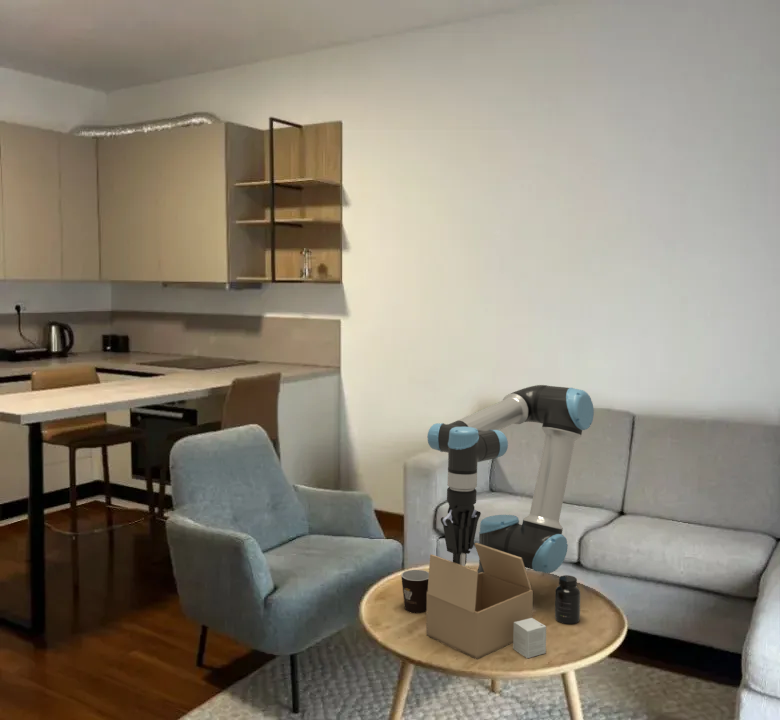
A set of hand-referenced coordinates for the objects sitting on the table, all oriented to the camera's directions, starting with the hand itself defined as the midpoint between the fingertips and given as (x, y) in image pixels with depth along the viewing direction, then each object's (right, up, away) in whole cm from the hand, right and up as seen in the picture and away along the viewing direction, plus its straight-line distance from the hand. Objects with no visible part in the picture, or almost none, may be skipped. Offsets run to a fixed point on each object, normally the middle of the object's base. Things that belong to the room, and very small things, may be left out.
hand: (459, 577), depth 207 cm
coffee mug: (-10, -16, +23) cm, 29 cm away
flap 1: (-2, -1, -1) cm, 2 cm away
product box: (+18, -19, -2) cm, 26 cm away
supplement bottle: (+32, -17, +17) cm, 40 cm away
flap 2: (+13, 0, +11) cm, 17 cm away
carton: (+6, -17, +7) cm, 20 cm away
